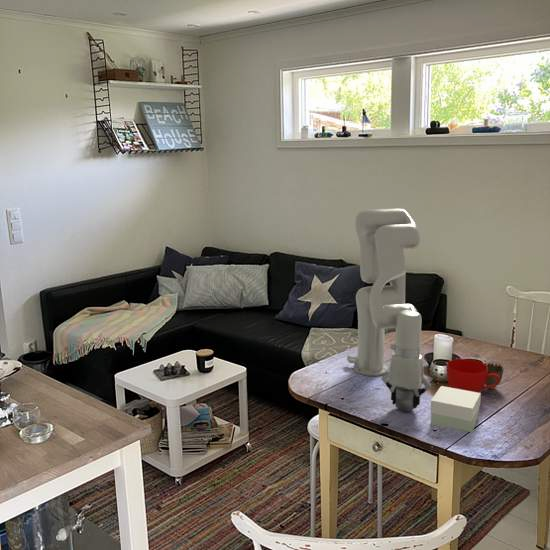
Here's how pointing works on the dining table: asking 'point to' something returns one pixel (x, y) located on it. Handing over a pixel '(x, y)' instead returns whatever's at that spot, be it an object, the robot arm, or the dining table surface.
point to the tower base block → (454, 422)
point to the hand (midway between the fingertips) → (405, 404)
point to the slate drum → (404, 398)
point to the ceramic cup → (468, 375)
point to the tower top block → (455, 403)
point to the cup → (493, 370)
